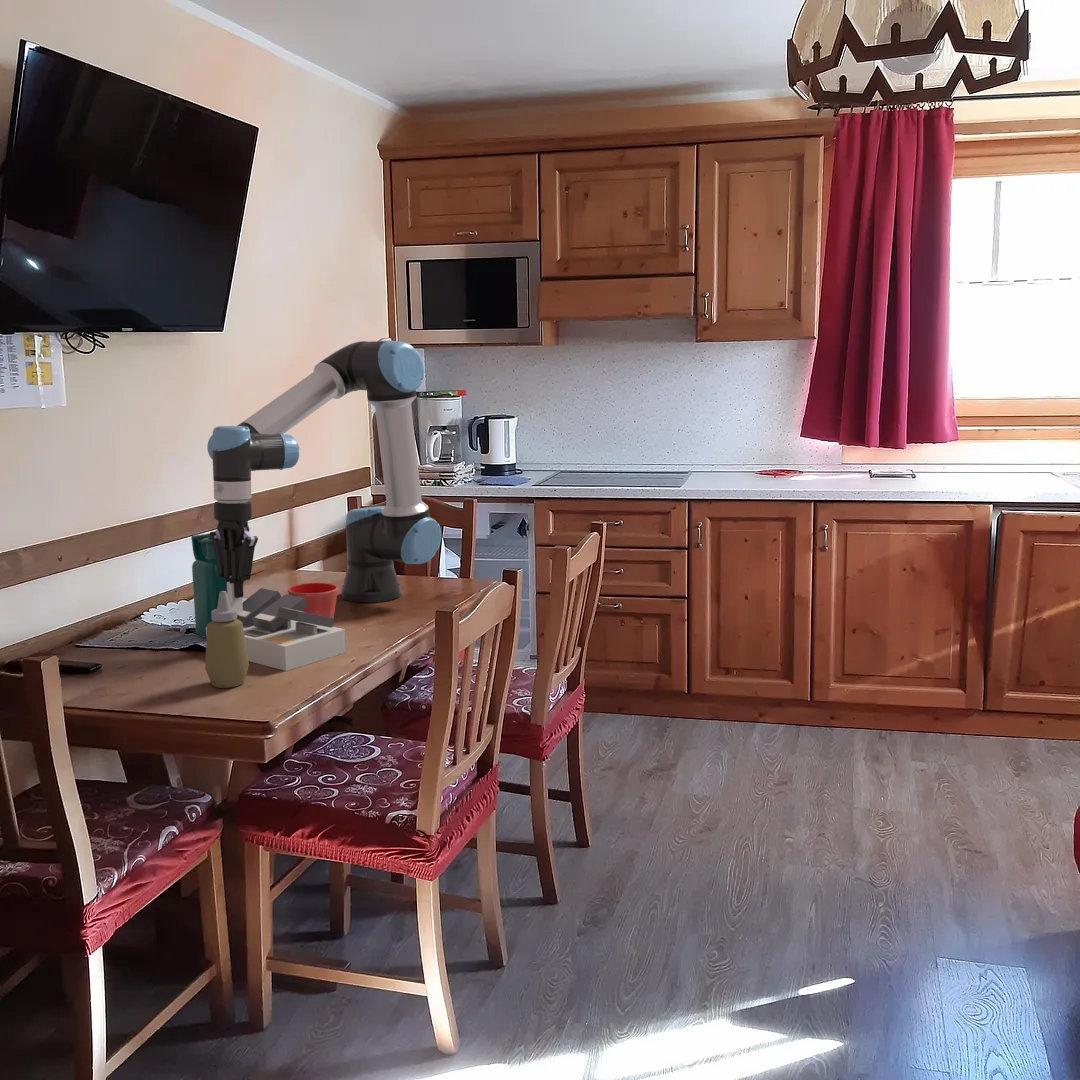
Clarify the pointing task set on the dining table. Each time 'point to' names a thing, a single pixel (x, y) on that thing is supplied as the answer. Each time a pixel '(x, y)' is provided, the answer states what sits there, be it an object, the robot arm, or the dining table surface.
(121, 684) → the dining table surface
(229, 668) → the squeeze bottle
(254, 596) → the rocker
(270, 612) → the rocker
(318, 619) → the rocker
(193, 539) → the pitcher
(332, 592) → the flower pot
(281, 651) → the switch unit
